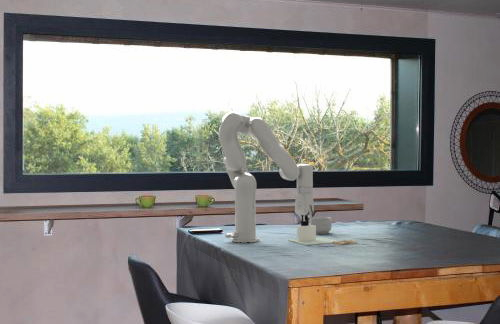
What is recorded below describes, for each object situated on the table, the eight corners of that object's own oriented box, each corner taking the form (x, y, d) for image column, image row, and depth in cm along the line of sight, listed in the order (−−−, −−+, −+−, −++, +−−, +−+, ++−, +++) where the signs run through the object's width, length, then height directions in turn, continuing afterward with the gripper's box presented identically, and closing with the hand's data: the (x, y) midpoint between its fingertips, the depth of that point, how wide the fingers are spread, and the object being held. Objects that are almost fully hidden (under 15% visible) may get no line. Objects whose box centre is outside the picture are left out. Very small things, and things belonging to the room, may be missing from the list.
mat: (306, 245, 298) (306, 244, 298) (287, 240, 312) (287, 239, 312) (340, 242, 306) (339, 241, 306) (320, 237, 320) (320, 237, 320)
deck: (299, 241, 307) (299, 226, 307) (296, 240, 309) (296, 226, 309) (315, 239, 311) (315, 225, 311) (313, 239, 313) (313, 225, 313)
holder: (338, 244, 298) (338, 242, 298) (332, 243, 302) (332, 241, 302) (357, 243, 302) (357, 241, 302) (351, 242, 306) (351, 239, 306)
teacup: (324, 235, 328) (324, 219, 328) (305, 233, 335) (305, 217, 335) (338, 232, 339) (338, 216, 339) (320, 230, 346) (320, 215, 346)
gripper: (289, 189, 320) (289, 228, 321) (306, 191, 307) (306, 231, 307) (303, 189, 323) (303, 227, 324) (320, 191, 310) (320, 230, 311)
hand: (304, 229), depth 316 cm, fingers closed
